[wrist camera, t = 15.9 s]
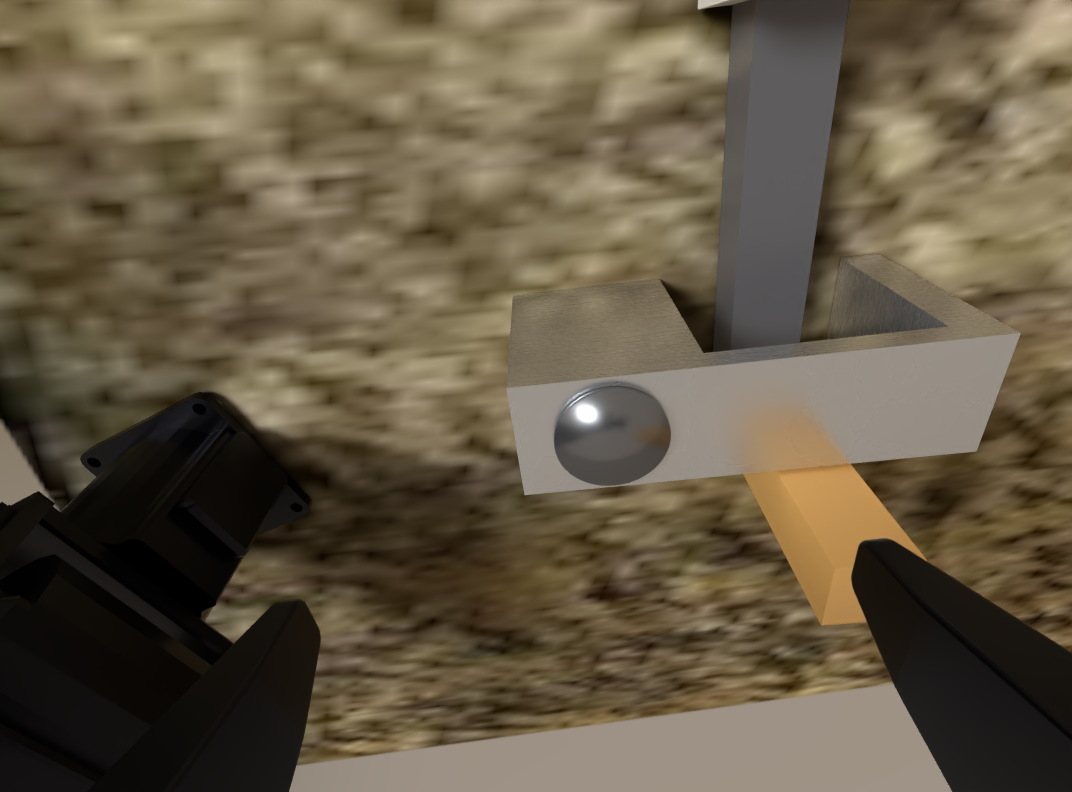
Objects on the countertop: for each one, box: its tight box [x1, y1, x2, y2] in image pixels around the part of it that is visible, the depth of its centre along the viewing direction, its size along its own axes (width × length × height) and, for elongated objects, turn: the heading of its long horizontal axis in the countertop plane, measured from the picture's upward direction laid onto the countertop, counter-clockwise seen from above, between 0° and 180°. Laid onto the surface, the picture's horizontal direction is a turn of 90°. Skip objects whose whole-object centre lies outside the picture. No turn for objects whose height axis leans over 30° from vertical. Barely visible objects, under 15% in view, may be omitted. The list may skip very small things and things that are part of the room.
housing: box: [506, 254, 1021, 495], centre depth 17 cm, size 4×12×6 cm, turn 97°
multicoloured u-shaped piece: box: [698, 0, 927, 625], centre depth 13 cm, size 18×4×9 cm, turn 7°
